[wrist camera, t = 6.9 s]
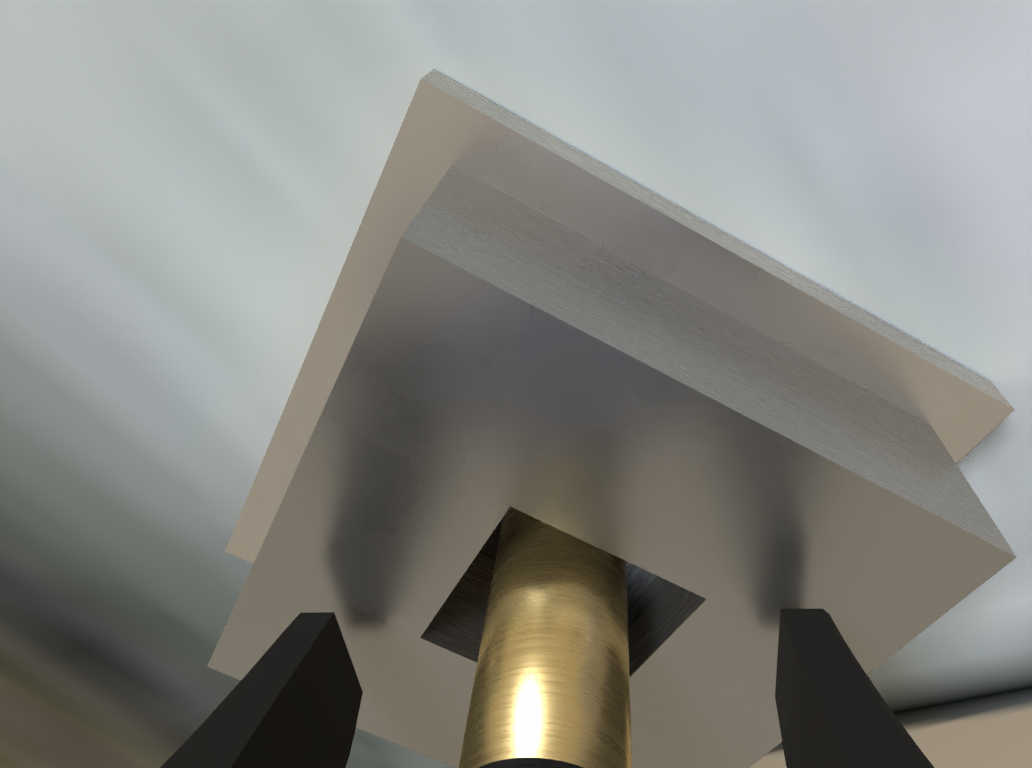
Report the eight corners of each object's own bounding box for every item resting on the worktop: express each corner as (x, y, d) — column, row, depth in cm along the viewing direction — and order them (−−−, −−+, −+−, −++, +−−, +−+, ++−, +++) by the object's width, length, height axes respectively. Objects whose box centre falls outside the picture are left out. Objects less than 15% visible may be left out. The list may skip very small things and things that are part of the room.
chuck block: (991, 381, 15) (1127, 541, 11) (653, 704, 21) (662, 881, 17) (433, 69, 13) (355, 126, 9) (242, 523, 19) (147, 674, 15)
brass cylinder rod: (616, 435, 15) (623, 860, 8) (630, 526, 16) (647, 964, 9) (499, 446, 15) (412, 858, 9) (521, 534, 17) (460, 957, 10)
